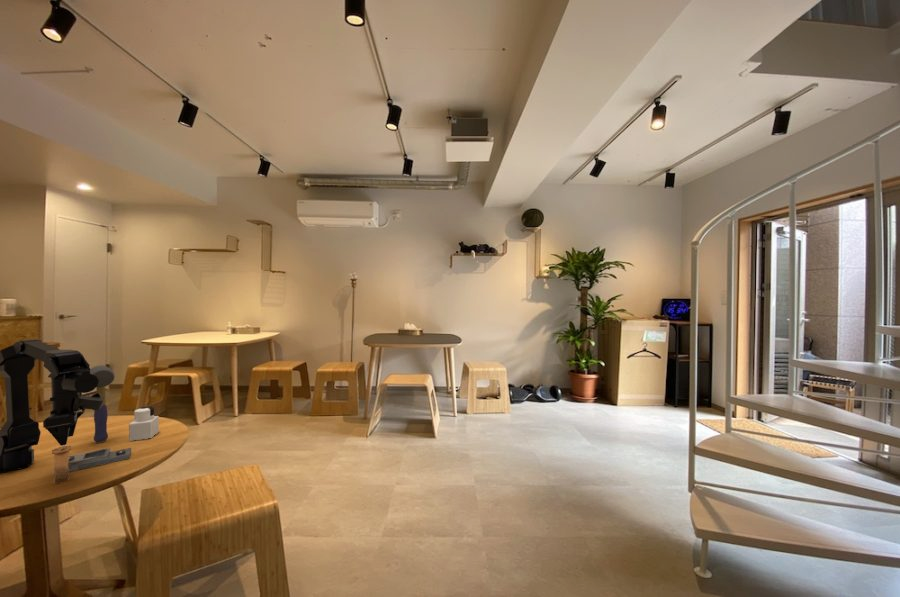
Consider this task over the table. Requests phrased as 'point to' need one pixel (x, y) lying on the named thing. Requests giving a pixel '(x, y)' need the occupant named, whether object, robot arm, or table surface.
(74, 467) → the slotted metal plate
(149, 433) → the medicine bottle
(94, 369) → the rubber mallet
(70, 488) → the table surface
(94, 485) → the table surface
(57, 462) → the pin
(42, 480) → the table surface
